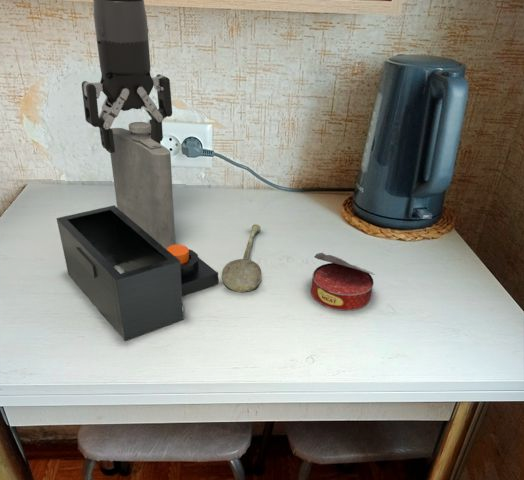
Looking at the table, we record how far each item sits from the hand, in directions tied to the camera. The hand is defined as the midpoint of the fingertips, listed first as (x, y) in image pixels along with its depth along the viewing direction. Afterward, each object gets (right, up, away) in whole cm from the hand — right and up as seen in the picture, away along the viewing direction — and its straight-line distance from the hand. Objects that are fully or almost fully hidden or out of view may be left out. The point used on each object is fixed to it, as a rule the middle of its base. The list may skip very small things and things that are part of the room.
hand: (133, 147), depth 86 cm
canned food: (+35, -25, -1) cm, 43 cm away
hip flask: (0, -13, +10) cm, 16 cm away
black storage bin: (0, -26, -6) cm, 26 cm away
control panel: (+8, -22, -1) cm, 23 cm away
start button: (+8, -19, -3) cm, 21 cm away
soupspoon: (+19, -18, +6) cm, 27 cm away
